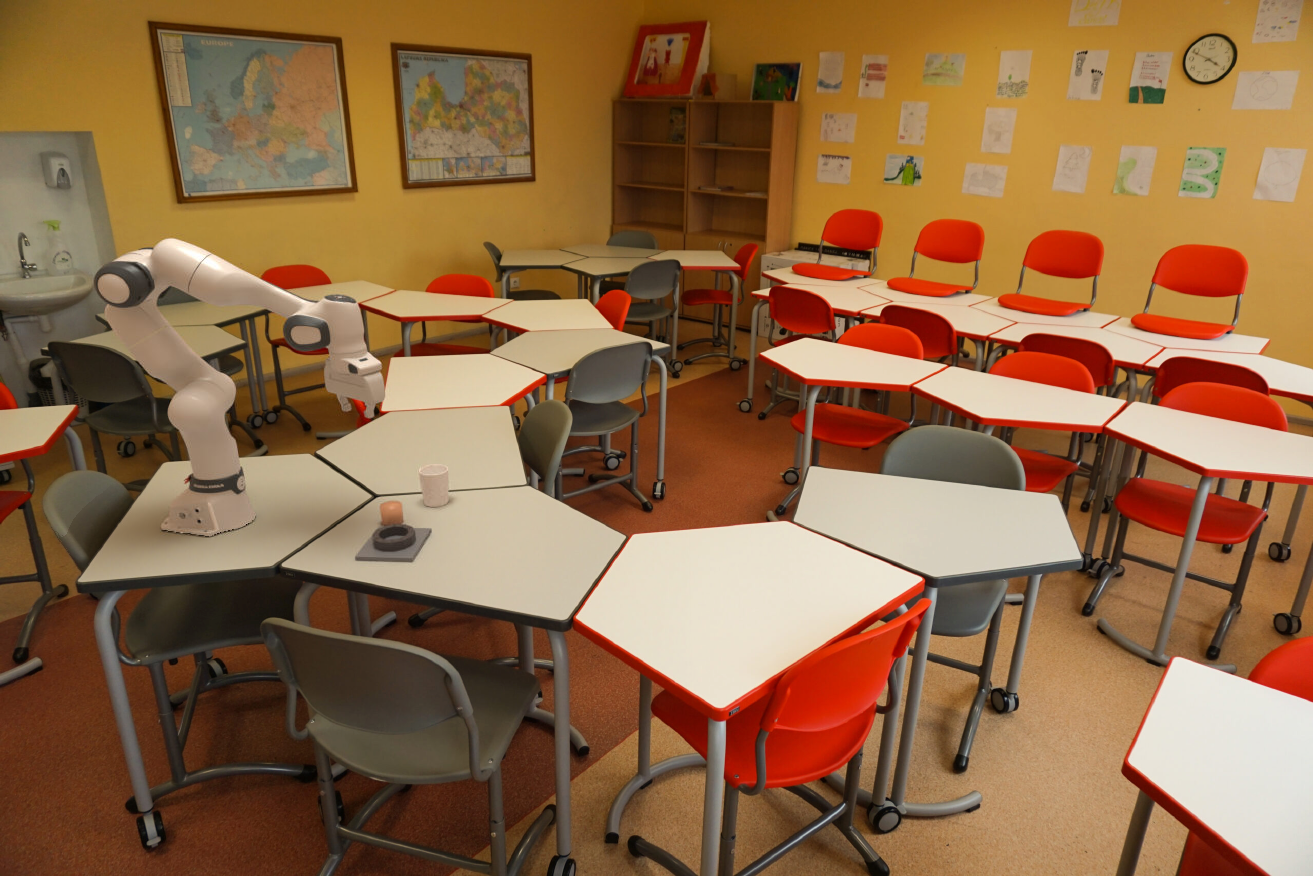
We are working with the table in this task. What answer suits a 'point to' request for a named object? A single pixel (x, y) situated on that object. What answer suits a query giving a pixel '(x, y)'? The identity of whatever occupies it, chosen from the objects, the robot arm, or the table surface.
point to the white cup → (434, 484)
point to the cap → (391, 513)
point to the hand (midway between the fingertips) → (358, 413)
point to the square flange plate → (394, 543)
